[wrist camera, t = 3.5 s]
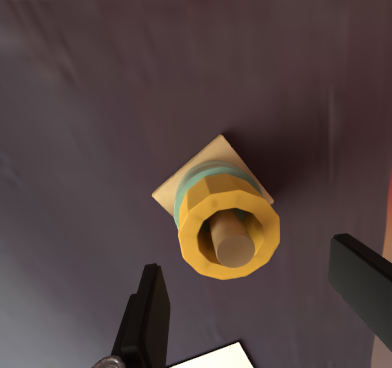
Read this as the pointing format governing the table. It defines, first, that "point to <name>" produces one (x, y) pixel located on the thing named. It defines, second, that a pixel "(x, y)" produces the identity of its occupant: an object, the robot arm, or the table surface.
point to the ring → (219, 200)
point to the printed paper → (220, 359)
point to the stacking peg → (222, 219)
